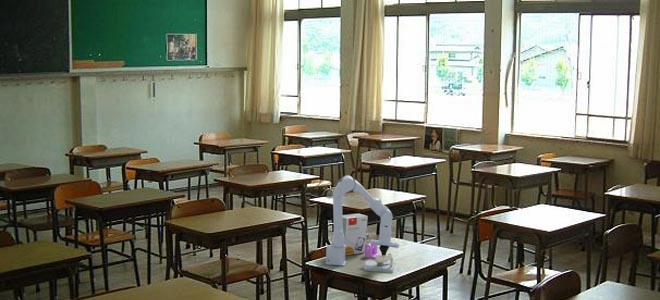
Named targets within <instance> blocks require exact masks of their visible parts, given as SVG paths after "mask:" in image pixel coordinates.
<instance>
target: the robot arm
mask: <svg viewBox="0 0 660 300" xmlns="http://www.w3.org/2000/svg"><path fill="white" fill-rule="evenodd" d="M351 191H352V192H354V193H358V194H359V195H361V197H363V199H364V200H366V202H367V203H368V207H369V208H370V210H372V211H373V212H374V213H375V214H376V215H377V216H379V217H380V224H379V237H378V239H377V240H376V239H370V243H369V244H375V245H377V246H379V247H378V249H379V251H380V253H381V255H382V256H383V255H387V252H388V250H389V249H390V248H395V249H399V248H400V243H396V242H392V241H391V240H392V225H393V224H392V220H393V219H394V217H393V213H392V211H391V210H390V209H389V208H388V206H386V205H384V204H383V202H382V200H381V198H380V199H379V198H375V197H373V196H372V195H371V194H370V193H369V192H368V191H367V189H366V188H365V187H364V186H363V185H362V184H361V183H360V182H358V180H357V179H354V178H353V177H352V176H351V175H344V176H343V177H342V178H340V179H339V180H338V183H337V184H336V186H335V187H334V189H333V191H332V201H333V202H332V206H333V209H332V210H333V214H332V215H333V233H332V237H331V239H332V243H330V245H329V244H328V245H327V246H326V249H325V250H326V251H325V252H326V253H325V265H328V266H329V265H330V266H342V267H343V266H346V263H347V260H346V255H345V246H346V245H345V236H344V233H343V215H344V214H343V197H344V196H345V195H346V194H347V193H348V192H351Z"/></svg>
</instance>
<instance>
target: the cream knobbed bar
mask: <svg viewBox="0 0 660 300" xmlns="http://www.w3.org/2000/svg"><path fill="white" fill-rule="evenodd" d="M381 255H382V254H380V255H377V256H376V259H375V262H376V263H383V262H388V261H390V260H391V258H393V254H391V253H388V254H386V255H383V256H381ZM387 260H388V261H387Z"/></svg>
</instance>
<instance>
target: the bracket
mask: <svg viewBox="0 0 660 300" xmlns="http://www.w3.org/2000/svg"><path fill="white" fill-rule="evenodd" d="M377 255H381V256H382V254H379V253H378V245H375V244H370V243H366V245H365V252H364V257H365V258H369V259H373V260H376V256H377ZM388 261H389V260H387V261H386V262H388Z"/></svg>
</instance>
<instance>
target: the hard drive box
mask: <svg viewBox="0 0 660 300" xmlns="http://www.w3.org/2000/svg"><path fill="white" fill-rule="evenodd" d="M342 215H343V233H344V236H345V245H346V246H345V256H351V255H355V254H356V255H358V254H363V253H364V254H365V245H366V244H367V233H368V220H369V219H368V217H369V216H368V215H365V214H361V213H351V214H342Z"/></svg>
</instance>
